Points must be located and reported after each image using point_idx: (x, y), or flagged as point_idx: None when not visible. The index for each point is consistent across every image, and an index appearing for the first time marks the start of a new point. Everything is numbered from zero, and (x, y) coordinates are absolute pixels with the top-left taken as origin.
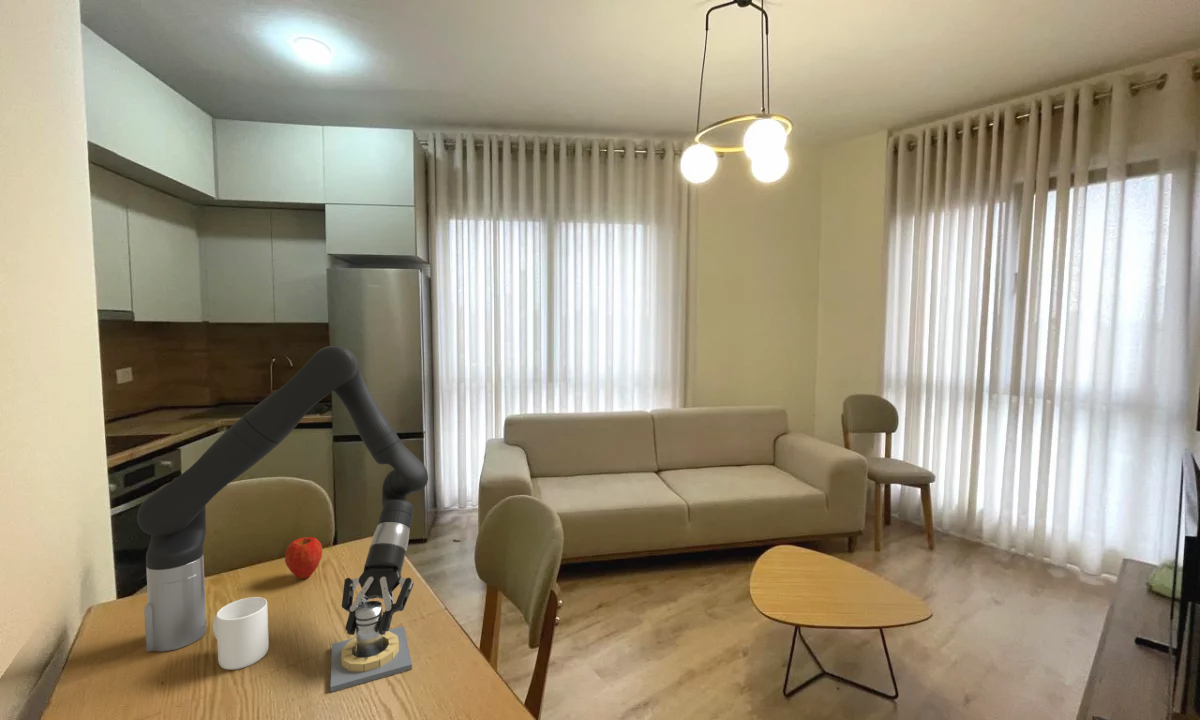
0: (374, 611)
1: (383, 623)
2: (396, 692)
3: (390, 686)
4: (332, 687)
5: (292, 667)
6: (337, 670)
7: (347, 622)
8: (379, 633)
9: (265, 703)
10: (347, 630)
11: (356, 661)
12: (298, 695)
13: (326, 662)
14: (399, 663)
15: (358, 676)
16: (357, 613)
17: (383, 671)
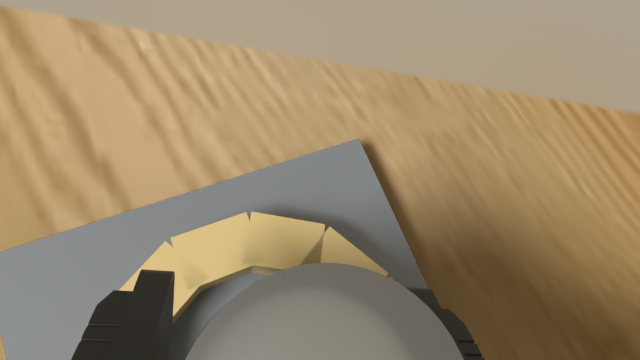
0: (223, 308)
1: (131, 308)
2: (60, 108)
3: (97, 149)
4: (350, 142)
5: (595, 327)
6: (380, 245)
7: (473, 348)
8: (173, 290)
9: (551, 126)
10: (430, 292)
11: (297, 239)
12: (465, 149)
13: None
14: (62, 269)
15: (261, 190)
16: (411, 295)
17: (143, 211)
